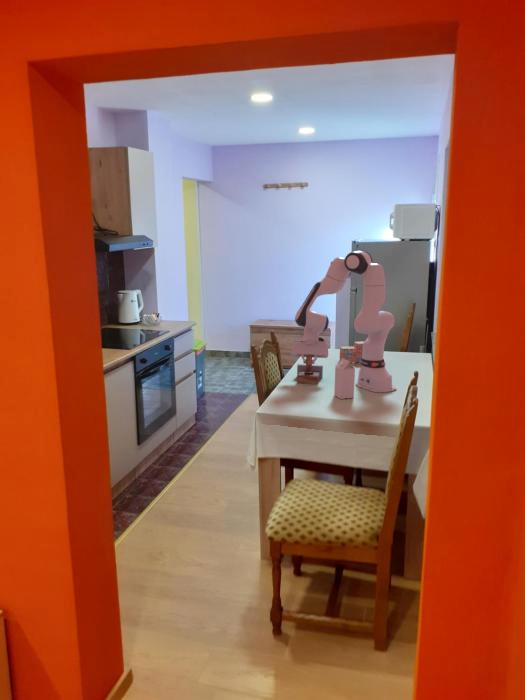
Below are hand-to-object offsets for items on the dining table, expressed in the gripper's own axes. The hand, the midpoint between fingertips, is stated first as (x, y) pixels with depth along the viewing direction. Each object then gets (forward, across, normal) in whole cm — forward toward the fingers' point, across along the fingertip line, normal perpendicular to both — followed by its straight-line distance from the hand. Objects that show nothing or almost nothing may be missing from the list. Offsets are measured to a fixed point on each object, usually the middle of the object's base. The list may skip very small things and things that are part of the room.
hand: (308, 363), depth 309 cm
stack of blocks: (-28, +27, +43) cm, 58 cm away
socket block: (+7, 0, +8) cm, 10 cm away
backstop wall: (+2, 0, +13) cm, 13 cm away
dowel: (+3, 0, +4) cm, 4 cm away
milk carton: (+25, +20, -11) cm, 34 cm away
